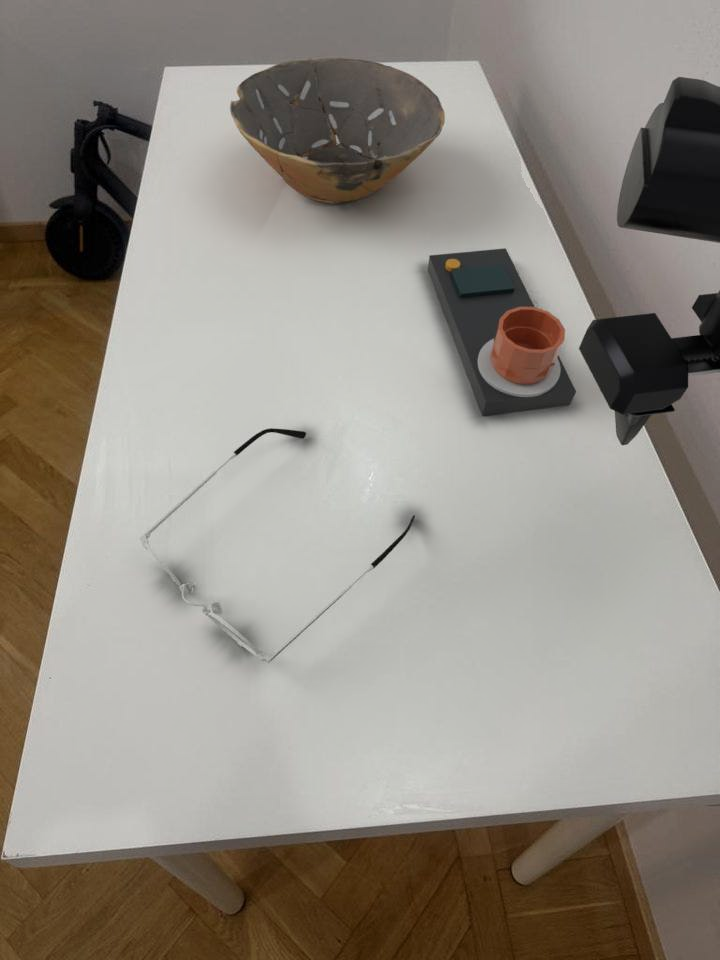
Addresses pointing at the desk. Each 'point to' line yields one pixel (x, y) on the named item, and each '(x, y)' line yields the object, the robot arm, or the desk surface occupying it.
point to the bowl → (337, 124)
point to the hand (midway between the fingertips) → (679, 432)
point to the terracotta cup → (526, 345)
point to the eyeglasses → (215, 604)
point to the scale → (490, 328)
